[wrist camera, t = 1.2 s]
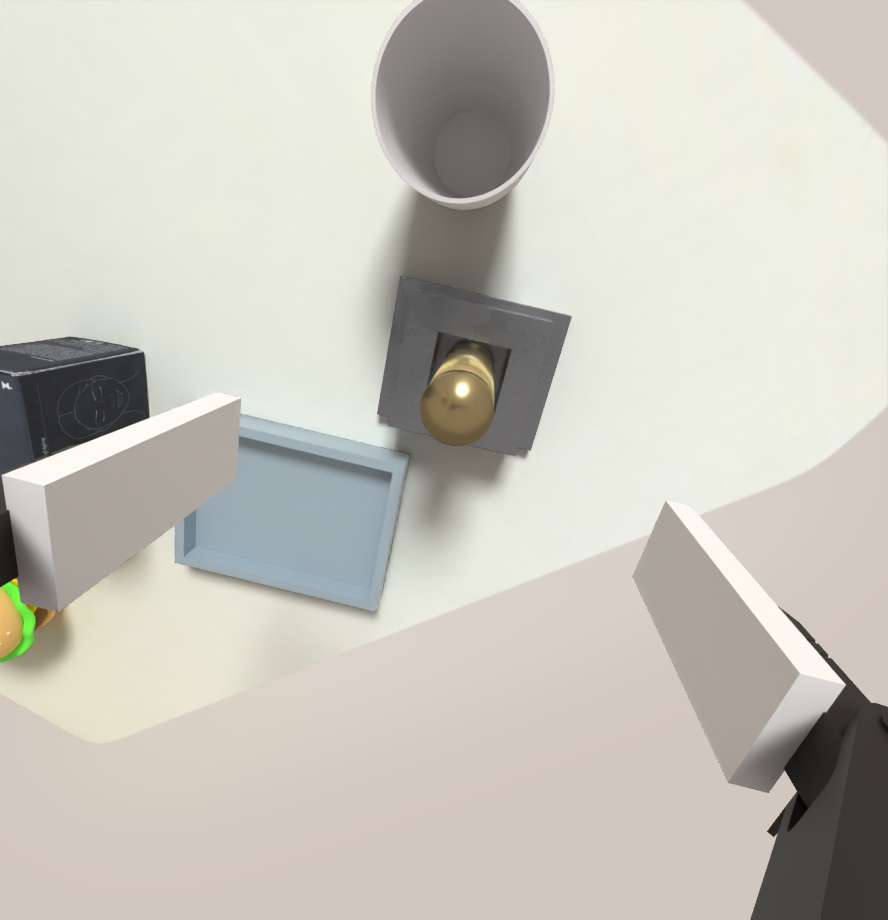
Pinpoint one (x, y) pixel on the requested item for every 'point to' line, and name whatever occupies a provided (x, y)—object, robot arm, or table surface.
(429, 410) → the pin
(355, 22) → the table surface
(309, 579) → the tray
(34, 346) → the box
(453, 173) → the cup
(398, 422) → the block
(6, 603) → the hamburger
